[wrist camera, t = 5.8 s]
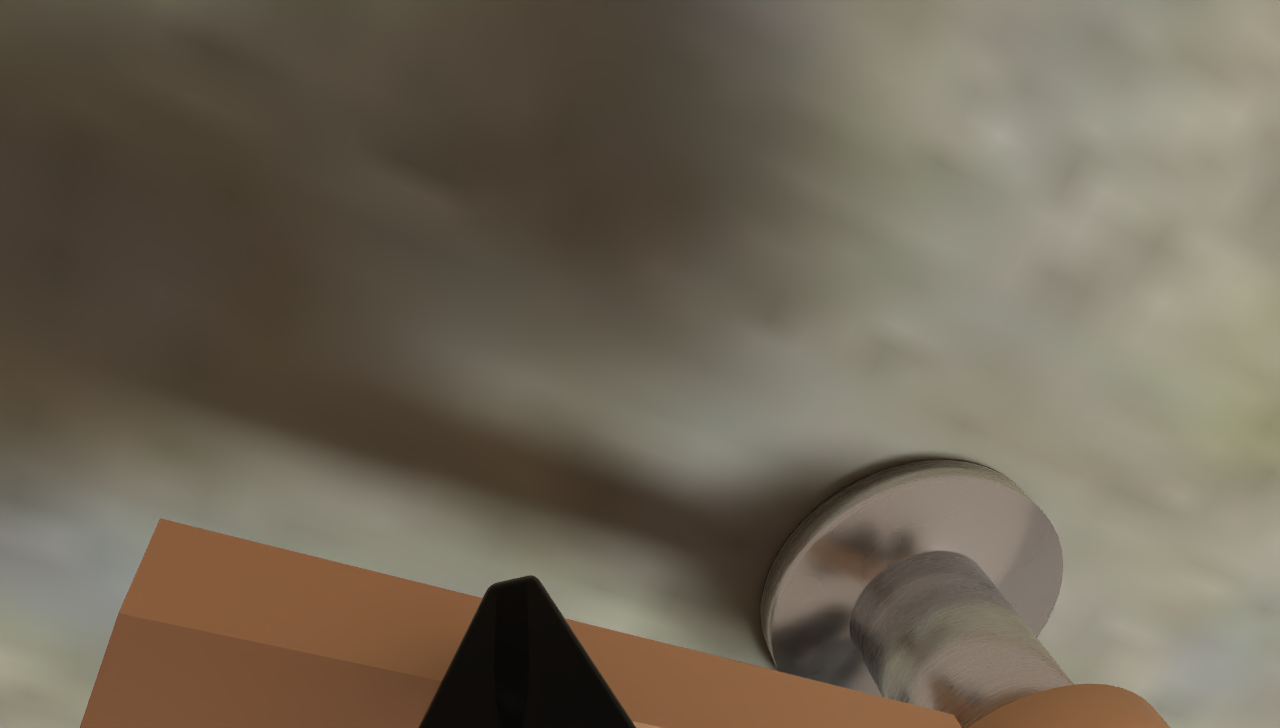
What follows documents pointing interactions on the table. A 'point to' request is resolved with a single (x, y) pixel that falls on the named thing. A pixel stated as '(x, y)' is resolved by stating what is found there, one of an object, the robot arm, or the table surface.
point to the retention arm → (436, 657)
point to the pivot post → (920, 590)
